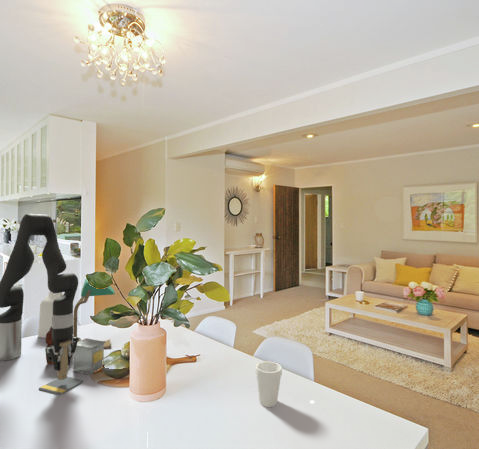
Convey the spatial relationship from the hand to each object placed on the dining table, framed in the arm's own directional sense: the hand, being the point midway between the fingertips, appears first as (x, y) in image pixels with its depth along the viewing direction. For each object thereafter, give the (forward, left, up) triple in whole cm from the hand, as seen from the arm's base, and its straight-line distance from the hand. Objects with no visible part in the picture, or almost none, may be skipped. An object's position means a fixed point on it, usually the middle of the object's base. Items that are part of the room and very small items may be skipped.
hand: (62, 367), depth 127 cm
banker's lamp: (-18, +34, -7) cm, 39 cm away
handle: (0, 0, -4) cm, 4 cm away
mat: (0, 0, -7) cm, 7 cm away
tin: (-1, +14, -7) cm, 16 cm away
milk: (-51, +41, -7) cm, 66 cm away
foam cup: (+79, +18, -7) cm, 81 cm away
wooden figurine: (-20, +17, -7) cm, 27 cm away
